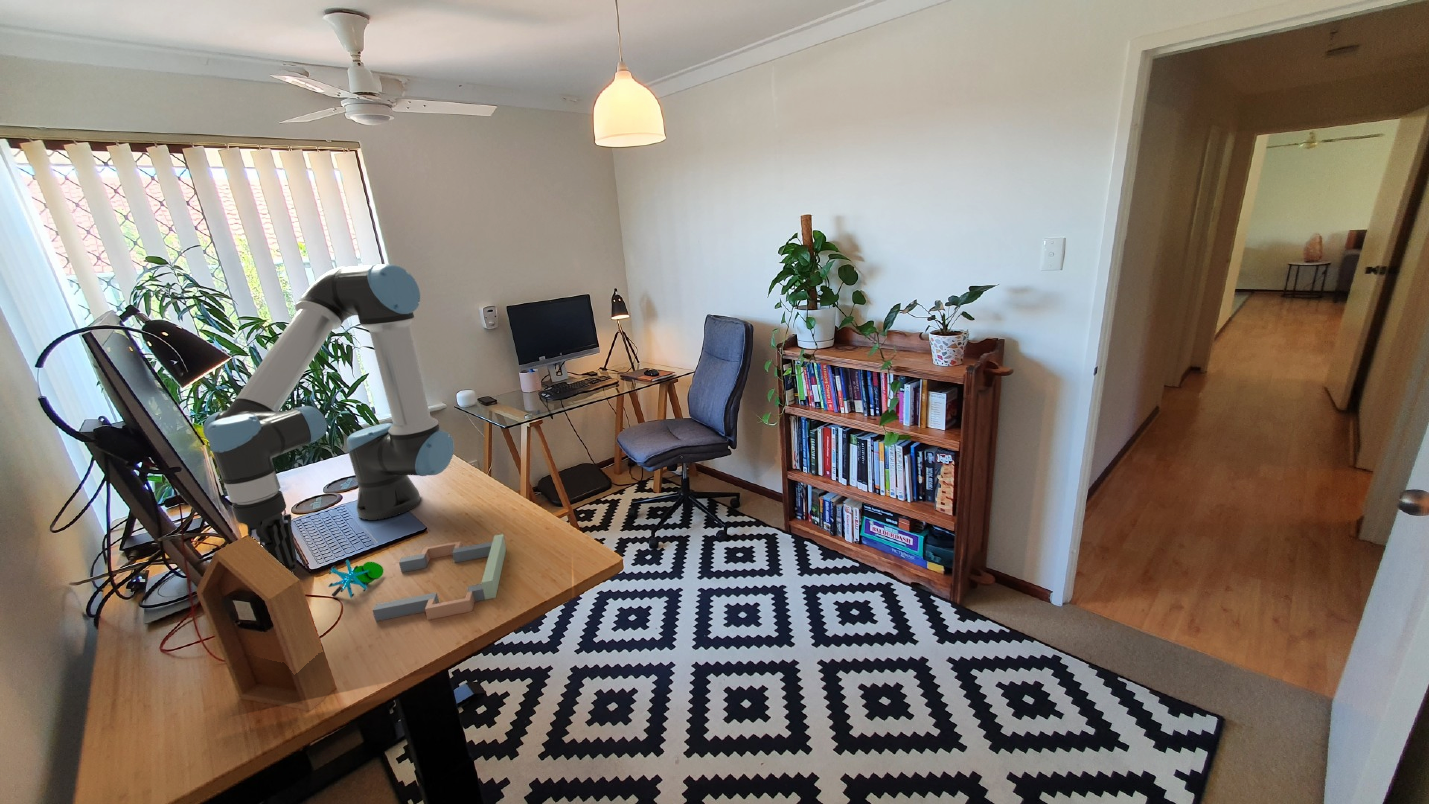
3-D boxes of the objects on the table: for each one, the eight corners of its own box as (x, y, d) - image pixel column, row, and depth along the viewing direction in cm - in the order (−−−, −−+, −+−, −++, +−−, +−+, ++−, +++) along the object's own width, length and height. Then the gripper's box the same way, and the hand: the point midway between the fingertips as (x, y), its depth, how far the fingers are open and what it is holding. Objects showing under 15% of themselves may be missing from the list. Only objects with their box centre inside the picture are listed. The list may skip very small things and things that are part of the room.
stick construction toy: (346, 594, 107) (325, 563, 109) (325, 616, 108) (304, 586, 110) (395, 577, 119) (375, 550, 121) (375, 598, 120) (356, 570, 122)
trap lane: (407, 560, 125) (403, 545, 124) (507, 542, 130) (504, 527, 129) (370, 631, 102) (365, 613, 101) (493, 606, 107) (490, 589, 106)
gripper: (252, 485, 108) (286, 587, 114) (211, 515, 95) (252, 627, 102) (295, 479, 109) (326, 580, 116) (260, 508, 97) (298, 618, 104)
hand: (292, 602), depth 109 cm, fingers closed
